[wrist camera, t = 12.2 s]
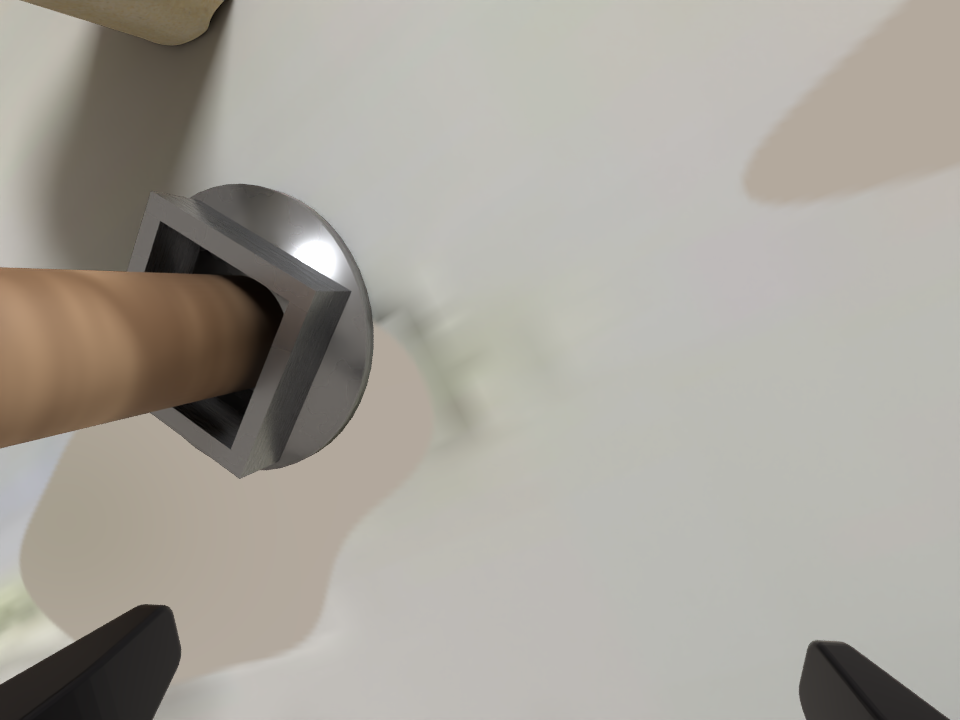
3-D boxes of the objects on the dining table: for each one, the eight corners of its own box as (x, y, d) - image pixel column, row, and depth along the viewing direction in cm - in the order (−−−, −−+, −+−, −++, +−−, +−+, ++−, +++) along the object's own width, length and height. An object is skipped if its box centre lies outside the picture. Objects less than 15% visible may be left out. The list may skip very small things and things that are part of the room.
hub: (421, 269, 20) (384, 266, 17) (307, 518, 23) (260, 547, 20) (192, 139, 22) (128, 119, 20) (117, 378, 25) (53, 388, 23)
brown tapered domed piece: (312, 306, 21) (-275, 335, 8) (266, 419, 22) (-299, 604, 9) (213, 244, 22) (-443, 180, 9) (175, 355, 23) (-441, 439, 10)
